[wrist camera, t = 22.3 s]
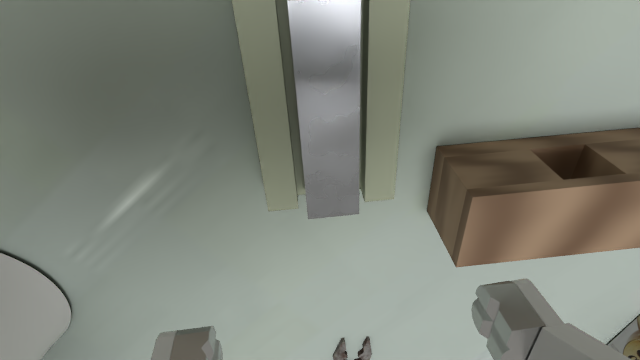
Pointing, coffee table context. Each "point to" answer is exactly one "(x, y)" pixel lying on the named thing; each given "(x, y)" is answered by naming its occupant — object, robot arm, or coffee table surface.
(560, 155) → the beam
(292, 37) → the shaft
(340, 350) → the pliers
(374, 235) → the coffee table surface
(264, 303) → the coffee table surface
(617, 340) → the coffee box
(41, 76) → the coffee table surface
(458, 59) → the coffee table surface
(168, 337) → the robot arm
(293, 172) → the cradle
